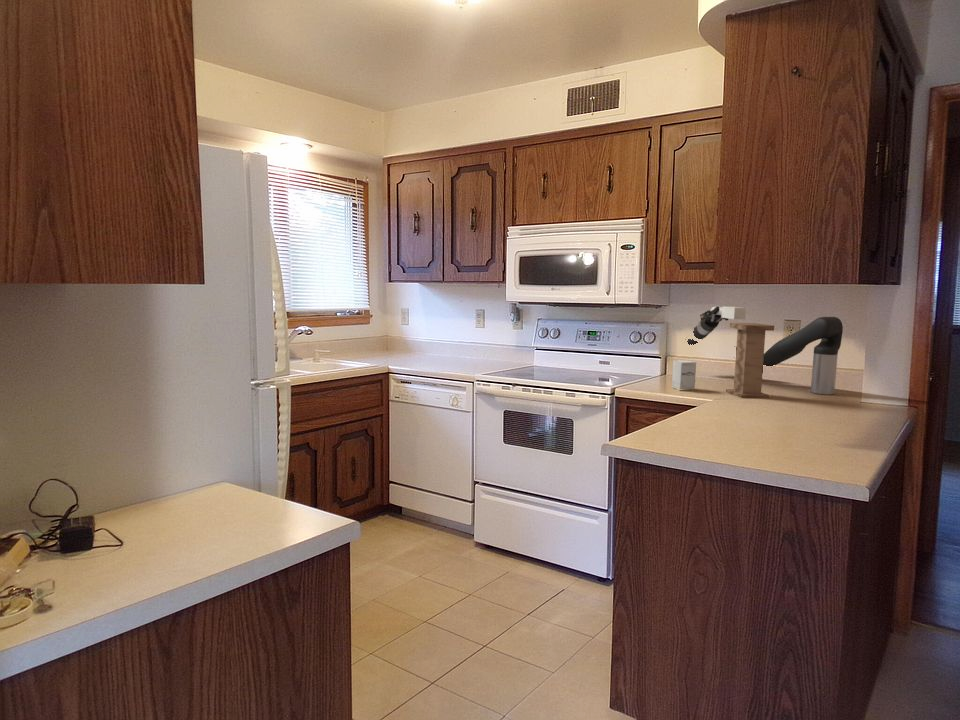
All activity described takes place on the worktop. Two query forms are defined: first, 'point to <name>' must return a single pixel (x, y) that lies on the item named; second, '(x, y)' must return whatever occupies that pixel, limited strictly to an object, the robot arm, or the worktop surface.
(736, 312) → the white square bar
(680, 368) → the supplement box
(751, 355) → the brown pedestal
